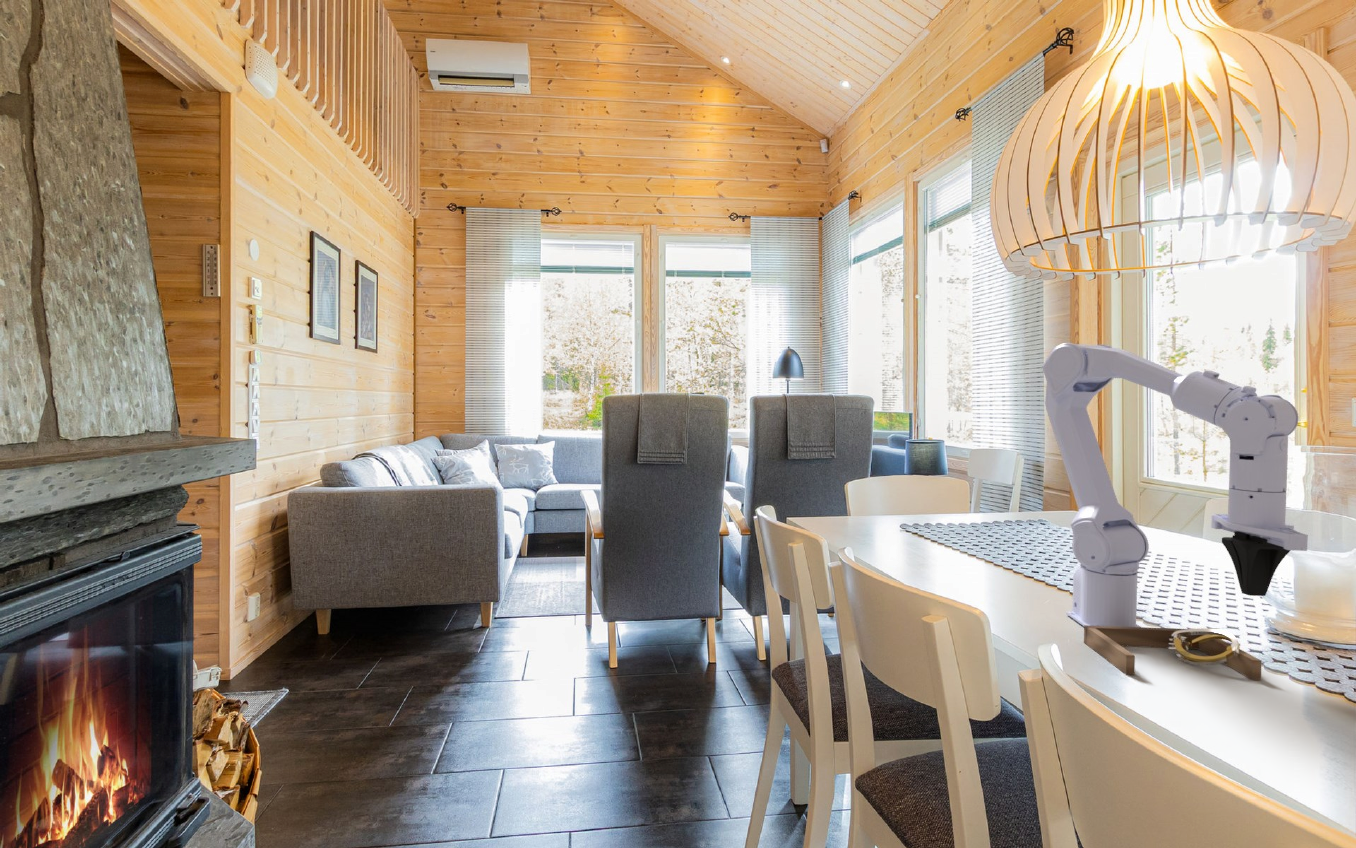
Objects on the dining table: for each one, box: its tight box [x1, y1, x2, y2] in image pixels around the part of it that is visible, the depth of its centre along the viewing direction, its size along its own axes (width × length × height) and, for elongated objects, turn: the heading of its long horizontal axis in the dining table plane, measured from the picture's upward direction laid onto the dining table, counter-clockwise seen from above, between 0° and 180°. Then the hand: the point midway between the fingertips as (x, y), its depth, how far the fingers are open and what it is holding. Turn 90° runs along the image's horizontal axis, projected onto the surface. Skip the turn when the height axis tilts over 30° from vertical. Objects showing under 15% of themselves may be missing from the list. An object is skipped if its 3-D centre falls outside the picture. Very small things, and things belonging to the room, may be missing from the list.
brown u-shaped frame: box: [1083, 625, 1262, 681], centre depth 94 cm, size 12×16×2 cm
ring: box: [1168, 628, 1241, 666], centre depth 94 cm, size 7×3×8 cm
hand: (1253, 594), depth 91 cm, fingers closed
